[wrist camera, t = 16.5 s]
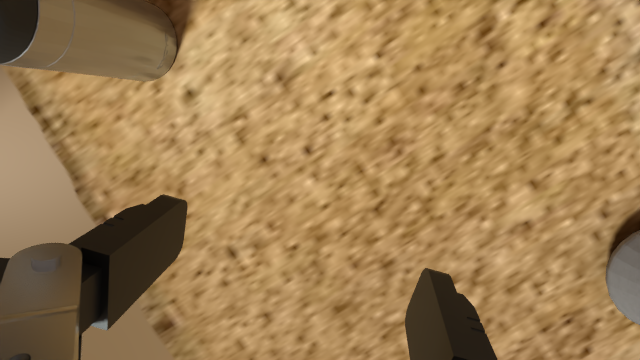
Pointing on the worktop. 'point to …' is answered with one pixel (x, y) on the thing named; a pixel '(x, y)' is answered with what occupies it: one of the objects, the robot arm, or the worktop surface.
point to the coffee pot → (625, 277)
